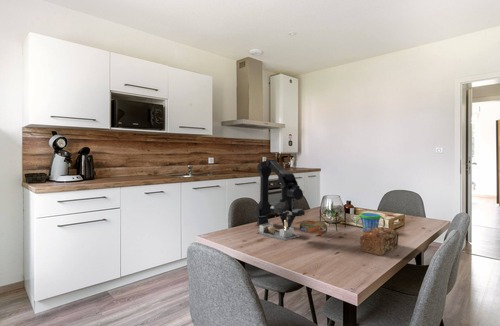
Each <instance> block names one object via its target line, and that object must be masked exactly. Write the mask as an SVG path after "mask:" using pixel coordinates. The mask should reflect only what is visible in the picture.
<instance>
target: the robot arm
mask: <svg viewBox="0 0 500 326" xmlns="http://www.w3.org/2000/svg"><path fill="white" fill-rule="evenodd" d="M256 168H257V173H258V175H259V177H260V180H259V181H260V182H259V183H260V186H259V187H260V193H259V195H260V197H259V202H258V203H257V206H256V210H255V212H254V218H256V226H259V227H260V225H261V224H266V223H269V218H271V216H272V213H276V214H277V215H278V216H279V217H280V220H281V223H282V226H283V227H284V219H288V228H290V227H292V224H293V222H294V220H295V218H296V217H302V216H305V215H306V214H305V213H306V212H305V209H303V208H295V207H294V206H293V202H295V200H297V201H299V200H301V199H302V198H303V196H304V191H303V190H302V189H301V188H300V185H298V181H297V178H296V177H295V174H294V173H293V172H291V171H288V170H286V169H285V168H284V167H282V165H280V164H279V163H278V162H277V159H275V158H274V159H273V158H269V159H266V160H264V161H262V162H259V163H258V164H257V167H256ZM272 172H273V173H274V174H276V176H277V177H278V178H277V179H278V181H279V183H280V184H281V185H280V186H279V188H280V189H281V193H280V194H281V196H280V197H281V198H280V199H279V202H278V203H276V204H275V205H272V204H271V203H270V202H269V189H270V188H269V184H270V183H269V181H270V180H269V179H270V176H271V174H272Z"/></svg>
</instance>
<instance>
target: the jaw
mask: <svg viewBox="0 0 500 326" xmlns="http://www.w3.org/2000/svg"><path fill="white" fill-rule="evenodd" d="M279 230H280V237H283V238H287V237H291V236H294V234H295V227H292V226H291V227H290V228H288V218H287V219H284V226H283V228H281V229H279Z"/></svg>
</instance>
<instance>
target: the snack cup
mask: <svg viewBox="0 0 500 326" xmlns="http://www.w3.org/2000/svg"><path fill="white" fill-rule="evenodd" d="M359 218H360V220H361V224H362V226H361V227H362V231H363V233H364V232H366V231H368V230H370V229H373V228H376V227H379V224H380V219H382V220H383V221H382V223H383V225H382V227H386V220H385V218H384V217H383V216H382V215H381V214H378V213H373V212H362V213H360V214H358V215H357V216H356V219H355V225H356V226H358V219H359Z"/></svg>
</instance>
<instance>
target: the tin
mask: <svg viewBox="0 0 500 326" xmlns="http://www.w3.org/2000/svg"><path fill="white" fill-rule="evenodd" d="M299 230H300V232H301V233H303V232H304V233H309V234H316V235H315V237H318V238H321V237H324V236H325V235H326V234H327V232H328V225H327V224H326V223H325V222H324V221H321V220H315V219H303V220H301V222H300V224H299Z"/></svg>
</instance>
